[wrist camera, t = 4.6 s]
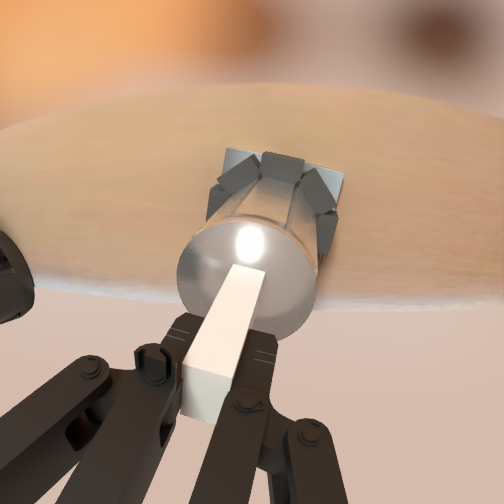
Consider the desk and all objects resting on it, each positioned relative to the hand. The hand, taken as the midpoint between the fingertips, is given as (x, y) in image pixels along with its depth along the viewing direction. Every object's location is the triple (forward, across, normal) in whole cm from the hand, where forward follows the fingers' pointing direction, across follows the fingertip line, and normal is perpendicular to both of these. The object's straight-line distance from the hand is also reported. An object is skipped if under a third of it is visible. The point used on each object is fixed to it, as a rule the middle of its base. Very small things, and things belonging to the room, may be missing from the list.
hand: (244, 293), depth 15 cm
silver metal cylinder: (+10, 0, 0) cm, 10 cm away
